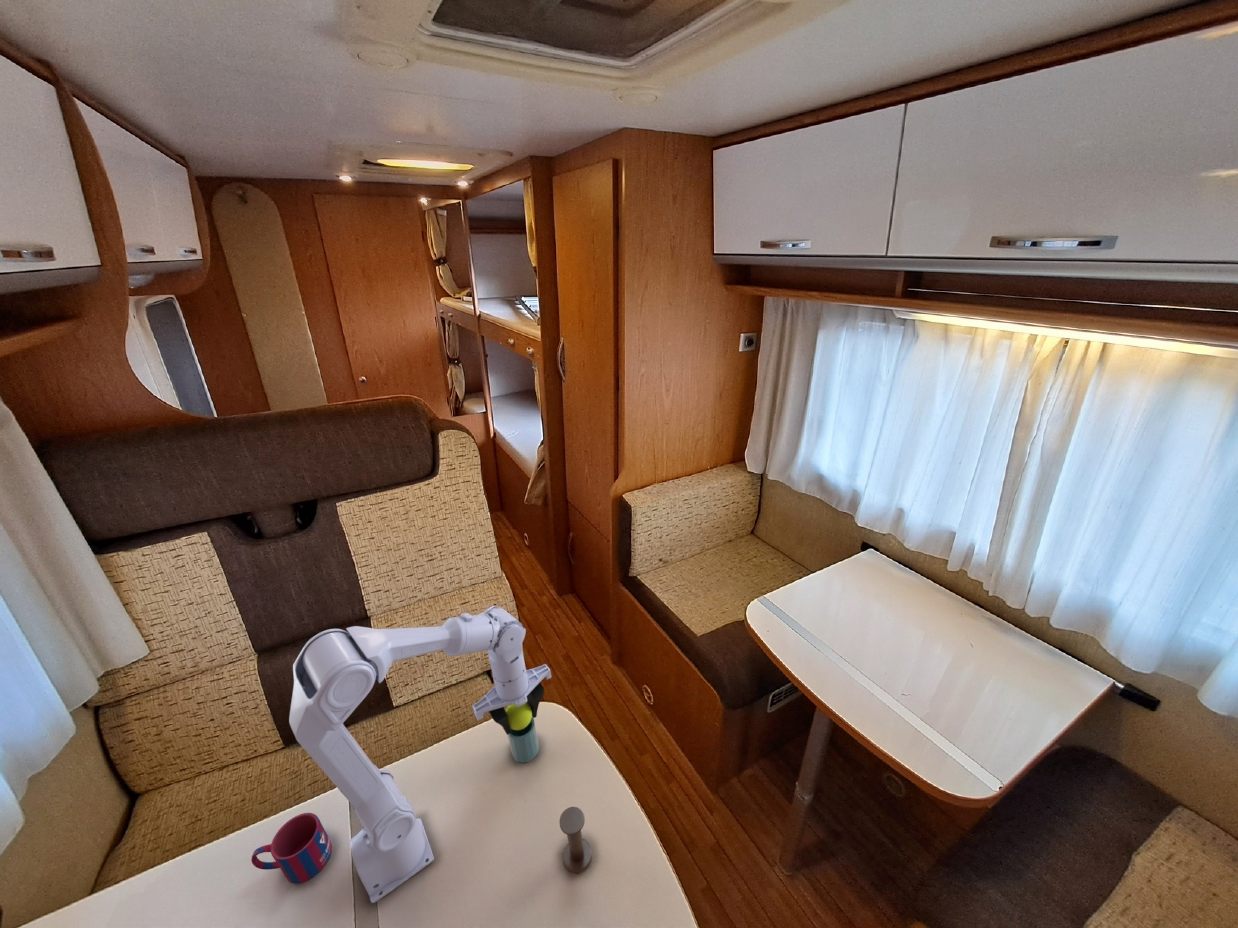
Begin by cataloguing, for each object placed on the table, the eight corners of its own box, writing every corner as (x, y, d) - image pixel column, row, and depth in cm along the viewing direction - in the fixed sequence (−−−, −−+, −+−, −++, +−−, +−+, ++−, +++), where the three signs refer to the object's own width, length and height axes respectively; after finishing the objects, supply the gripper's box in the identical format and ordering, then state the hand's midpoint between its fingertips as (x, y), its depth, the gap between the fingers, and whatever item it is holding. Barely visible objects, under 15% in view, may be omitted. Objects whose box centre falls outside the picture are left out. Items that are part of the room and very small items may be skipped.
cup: (324, 877, 77) (310, 853, 74) (255, 894, 75) (238, 870, 72) (337, 832, 83) (325, 807, 80) (274, 847, 81) (259, 822, 78)
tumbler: (519, 768, 91) (513, 743, 88) (507, 747, 95) (502, 723, 92) (543, 751, 94) (539, 727, 91) (531, 732, 98) (526, 708, 95)
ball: (513, 741, 88) (509, 722, 86) (502, 722, 92) (498, 703, 90) (538, 725, 91) (534, 707, 89) (526, 707, 94) (522, 689, 92)
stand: (573, 880, 75) (566, 843, 70) (558, 853, 78) (551, 816, 74) (597, 859, 77) (592, 822, 73) (582, 833, 80) (576, 797, 76)
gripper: (478, 707, 79) (492, 761, 84) (555, 662, 86) (563, 714, 92) (462, 679, 84) (476, 732, 90) (537, 639, 91) (545, 690, 97)
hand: (519, 721), depth 91 cm, fingers closed on ball, 5 cm apart
